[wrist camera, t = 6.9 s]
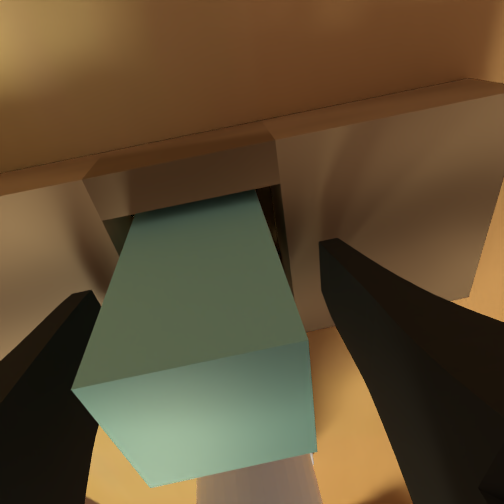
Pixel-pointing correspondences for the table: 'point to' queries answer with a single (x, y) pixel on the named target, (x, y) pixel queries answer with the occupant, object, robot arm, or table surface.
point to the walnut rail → (273, 197)
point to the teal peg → (200, 346)
